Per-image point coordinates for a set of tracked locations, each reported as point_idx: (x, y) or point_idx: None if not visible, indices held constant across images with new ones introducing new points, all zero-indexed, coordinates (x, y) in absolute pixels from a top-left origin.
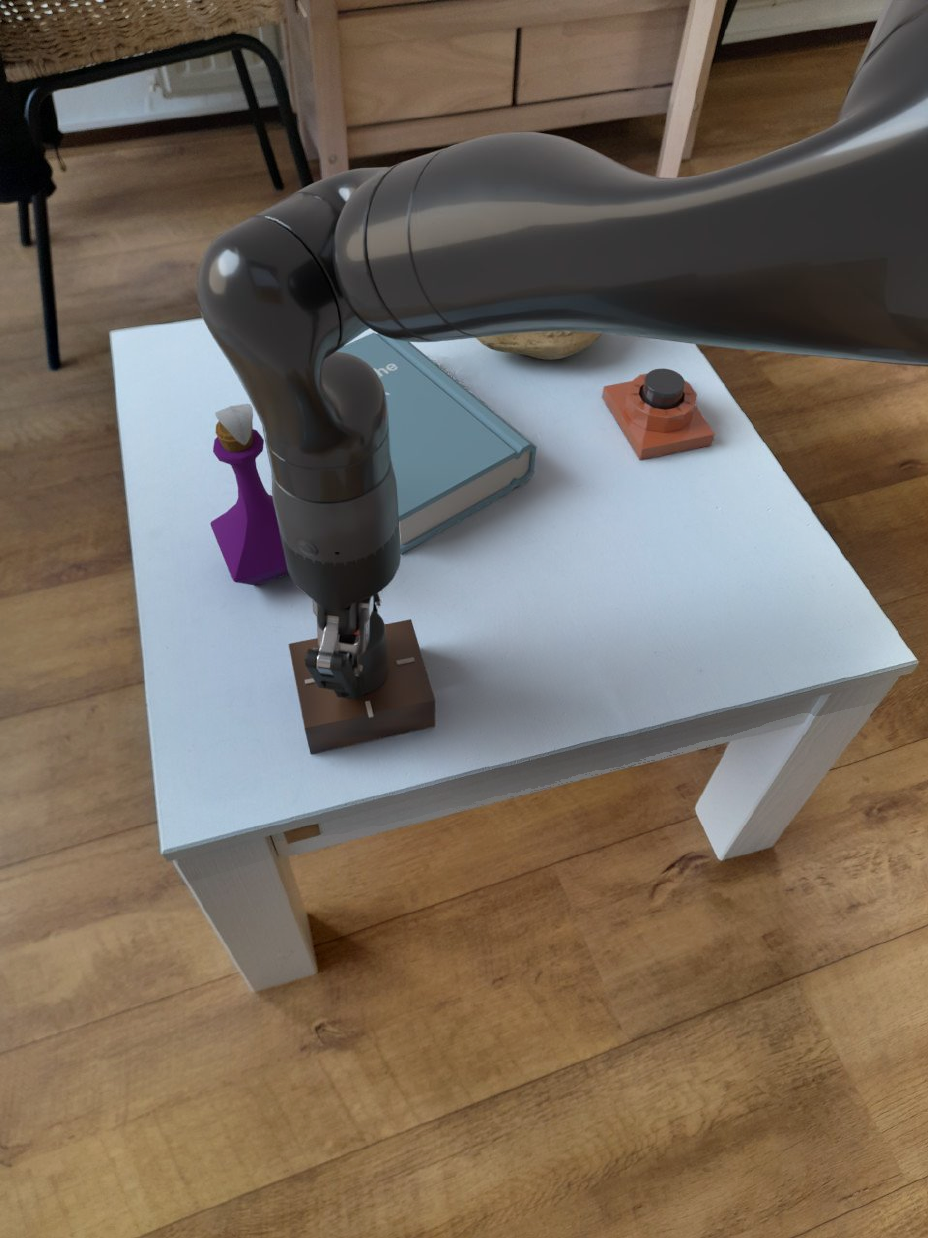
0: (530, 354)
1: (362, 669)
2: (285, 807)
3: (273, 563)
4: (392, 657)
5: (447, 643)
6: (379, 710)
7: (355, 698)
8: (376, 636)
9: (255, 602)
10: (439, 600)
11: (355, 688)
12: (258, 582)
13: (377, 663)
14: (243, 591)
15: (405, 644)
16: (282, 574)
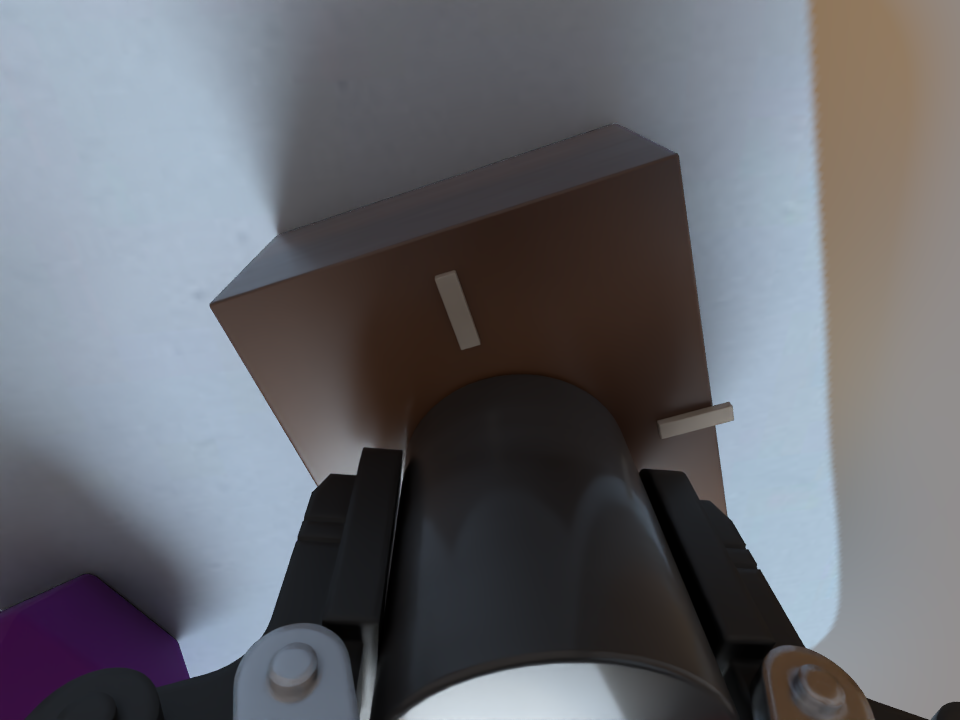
0: None
1: (818, 677)
2: (815, 497)
3: None
4: (441, 363)
5: (222, 94)
6: (702, 385)
7: (725, 517)
8: (622, 690)
9: (229, 630)
10: (13, 144)
11: (734, 559)
12: (170, 649)
13: (642, 523)
14: (204, 653)
15: (362, 317)
16: (122, 613)
